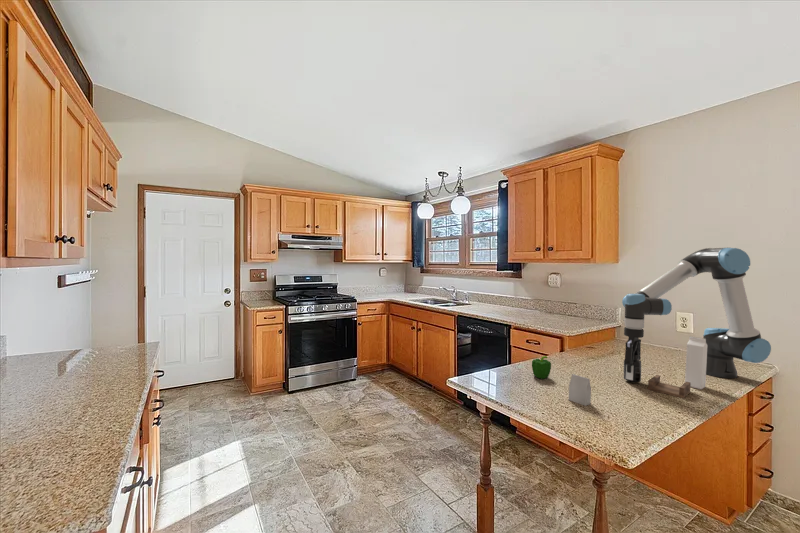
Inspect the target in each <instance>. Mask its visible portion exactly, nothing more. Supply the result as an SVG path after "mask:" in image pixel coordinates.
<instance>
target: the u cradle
mask: <svg viewBox="0 0 800 533" xmlns="http://www.w3.org/2000/svg"><path fill="white" fill-rule="evenodd" d="M690 385H691V383H690V382H685V381H684V383H683V384H682V385H681V386H677V385H672V384H669V383H666V382H665V383H664V382H661V375H658V374H656V375H654V376H653V377H651V378H649V379H648V382H647V390H649V391H653V392H657V393H661V394H665V395H668V396H673V397H676V398H681V399H684V398H685V397H687V396H688V394H690V393H691V387H690Z"/></svg>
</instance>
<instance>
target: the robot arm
mask: <svg viewBox="0 0 800 533" xmlns="http://www.w3.org/2000/svg"><path fill="white" fill-rule="evenodd" d="M750 266H751V258H750V256H749V255H748V253H747V252H746V251H744V249H743V250H742V249H741V248H738V247H716V248H715V247H714V248H713V247H709V248H707V247H706V248H702V249H698V250H696V251H695V252H692V253H691V254H689V255H687V256H685V257H683V258H682V259H681V260H679V261H678V262H677V265H676V266H675V267H673V268H671V269H670V270H668V271H666V272H665V273H664V274H662V275H661V276H659V277H658V278H656V279H655V280H654V281H652V282H650V283H648V284H647V285H646V286H645V287H643V288H641V289H640V290H638V291H636V292H635V293H627V294H626V295H625V296H624V297H623V298H622V302H621V303H622V305H623V308H624V318H623V322H624V328H623V335H624V336H626V337H628V338H627V340H626V342H625V343H624V344H625V348H624V349H625V350H624V351H625V352H624V353H625V354H624V360H625V362H624V361H623V365H624V364H625V365H626V379H629V380H633V367H634V366H633V359H634V353H636V354H639V359H638V360H639V361H640V362H641V363H642V360H641V359H642V358H641V352H642V350H641V346H642V345H641V341H642V339H641V338H643V337H644V333H645V332H644V331H645V330H644V328H645V316H648V315H649V316H666V315H667V316H668V315H669V314H670V313H672V310H673V309H672V308H673V307H672V306H673V305H672V303H671V301H670V300H669V299H667V298H661V297H662V296H664V295H665V294H667V293H668V292H670V291H671V290H673V289H674V288H676V287H677V286H678V285H680V284H682V283H683V282H685V281H686V280H687V279H689V278H694V277H696V276H698V275H701V274H703V273H704V274H705V273H711V277H712V279H713V280H714V281H716V282H717V284H718V287H719V292H720V296H721V300H722V304H723V309H724V313H725V316H726V320H727V321H726V322H727V324H728V328H725V327H724V328H723V327H721V328H720V327H707V328H705V329H704V330H703V331H704V332H703V338H704V339H706V344H707V364H706V376H707V375H708V376H713V377H717V378H724V379H737V378H738V370H737V367H736V365H735V362H734V359H738V360H742V361H744V362H747V363H753V364H758V363H763V362H764V361H766V360H767V359H768V358H769V356H770V355H771V352H772V346H771V343H770V342H769V341H768V340H767V339H765V338H763V337H762V336H761V332H760V330H759V329H756V328H755V325H754V321H753V317H752V313H751V309H750V305H749V300H748V297H747V293H746V288H745V283H744V280H743V279H744V278H745V277H746V275H747V272H748V270H749V269H750Z"/></svg>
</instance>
